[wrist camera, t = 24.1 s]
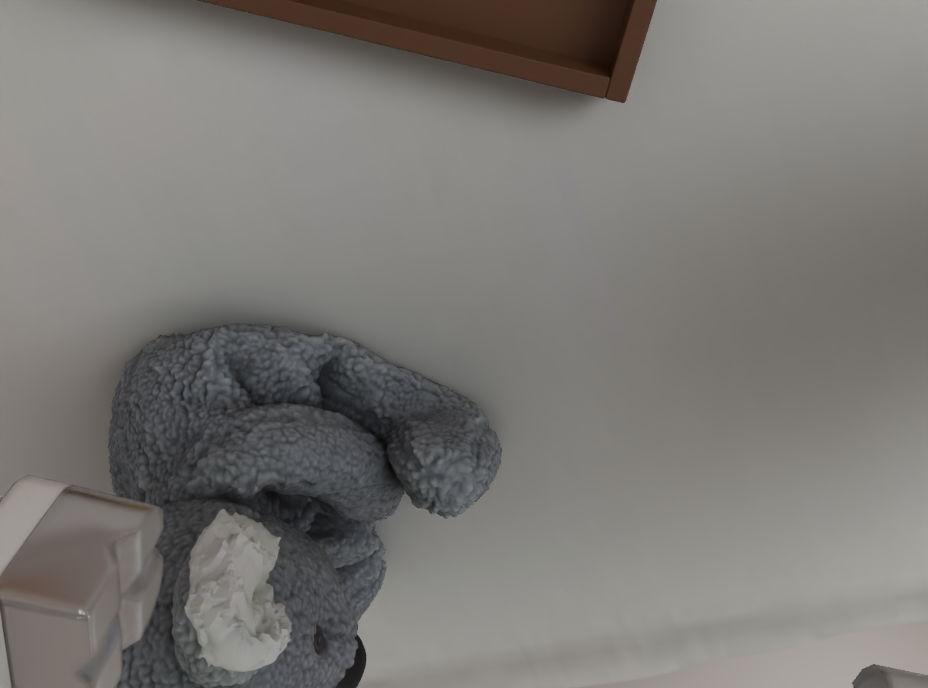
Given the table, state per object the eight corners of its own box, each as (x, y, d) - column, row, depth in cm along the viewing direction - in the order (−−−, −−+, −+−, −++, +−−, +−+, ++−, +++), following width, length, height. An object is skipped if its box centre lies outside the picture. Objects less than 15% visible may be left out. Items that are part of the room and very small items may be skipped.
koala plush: (359, 594, 53) (256, 954, 37) (87, 444, 49) (-165, 772, 33) (529, 414, 44) (496, 780, 28) (216, 216, 41) (-38, 504, 24)
